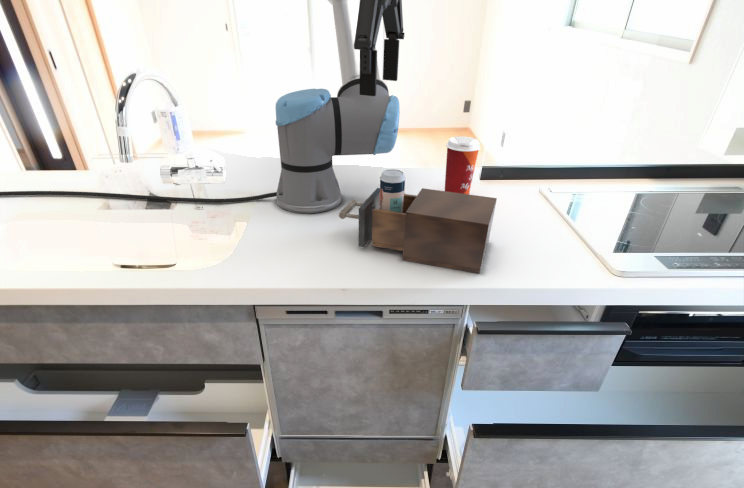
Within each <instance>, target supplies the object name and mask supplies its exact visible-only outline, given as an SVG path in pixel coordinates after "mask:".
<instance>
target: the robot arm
mask: <svg viewBox="0 0 744 488" xmlns="http://www.w3.org/2000/svg"><path fill="white" fill-rule="evenodd" d="M327 1H328V3H330V5H332V13H333V19H334V30H335V37H336V44H337V45H336V46H337V54H338V60H339V71H340V76H341V85H340V87H339V88H338V91H337V94H336V96H333V97H332V95H331V93H330V91H329V89H326V88H307V89H300V90H296V91H292V92H287V93H285V94H284V95H281V96H280V97H279V98H278V99H277V100H276V102H275V125H276V127H277V128H276V129H277V138H278V148H279V157H280V158H279V159H280V168H281V169H280V175H279V178H278V179H279V180H278V185H277V188H276V191H275V192H269V193H263V194H259V195H251V196H243V197H229V198H227V197H226V198H203V197H202V198H201V197H200V198H199V197H177V196H160V195H159V196H158V195H144V194H128V193H114V192H96V191H94V192H93V191H74V190H73V191H72V190H71V191H67V190H18V191H17V190H15V191H13V190H12V191H11V190H10V191H0V197H8V196H9V197H10V196H13V197H14V196H15V197H16V196H72V197H73V196H74V197H75V196H76V197H98V198H113V199H114V198H115V199H133V200H145V201H158V202H159V201H160V202H176V203H177V202H178V203H179V202H181V203H202V204H228V203H229V204H231V203H241V202H242V203H243V202H252V201H260V200H263V199H269V198H275V197H276V202H277V205H278V206H279V208H281V209H283V210H285V211H288V212H292V213H296V214H297V213H298V214H316V213H323V212H327V211H330V210H333V209H335V208H337V207H338V206H339V205H340V204H341V203H342V191H341V188H340V185H339V181H338V178H337V176H336V174H335V171H334V168H333V157H334V156H361V155H362V156H363V155H364V156H365V155H372V156H376V155H380V154H389V153H391V151H393V150H394V148H395V145H396V142H397V138H398V132H399V126H400V125H399V124H400V100H399V98H398V96H396V95H394V94H392V95H390V93H389V88H388V85H387V83H386V82H384V81H391V82H397V81H398V76H399V73H398V72H399V57H400V56H399V54H400V40H404V39H405V32H404V19H403V0H327ZM382 21H383V27H384V32H385V39H383V60H382V64H383V65H382V79H381V77H380V70H379V62H378V49H376V48H377V47H376V46H377V42H378V36H379V32H380V27H381V23H382Z"/></svg>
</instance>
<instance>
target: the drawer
mask: <svg viewBox="0 0 744 488" xmlns="http://www.w3.org/2000/svg"><path fill="white" fill-rule="evenodd" d="M417 195H418V194H417ZM417 195H416V194H409V193H404V205H403V213H400V212H393V211H387V210H380V209H379V206H380V187H377V188H376V189H375V190H374V191H372V193H371V195H369V196H368V197H367V199H366V200H365V201H363V202H358V200H356V199H351V201H350V202H349V203H347V205H346V206H345V207H344V208H343V209H342V210H341V211H339V213H338V217H339V218H340V219H341V220H344V219H346V218H347V219H348V218H350V219H355V220H358V248H366V246H367V245H368V244H369V242H370V241H371V240H372V241H371V246H372V247H377V248H382V249H389V250H393V251H400V252H403V245H404V230H405V215H406V211H407V210H408V208H409V207H410V205H411V204H412V202H413V201H414V199H415V198H416V197H417ZM356 207H358V214H353V213H351V212H352V211H353V210H354V209H355V208H356Z"/></svg>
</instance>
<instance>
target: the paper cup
mask: <svg viewBox="0 0 744 488" xmlns="http://www.w3.org/2000/svg"><path fill="white" fill-rule="evenodd" d="M445 146H446V161H445V162H446V163H445V178H444V179H445V180H444V191H447V192H454V193H462V194H469V195H470V191H471V188H472V187H471V186H472V182H473V177H474V173H475V168H476V164H477V159H478V155H479V151H480V150H481V145H480V141H479V139H478V138H475V137H472V136H471V137H470V136H463V135H461V136H458V135H457V136H452V137H450V138H448V141H447V143H446V145H445Z"/></svg>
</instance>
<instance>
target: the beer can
mask: <svg viewBox="0 0 744 488" xmlns="http://www.w3.org/2000/svg"><path fill="white" fill-rule="evenodd" d="M406 180H407V179H406V176H405V174H404V171H401V170H400V169H394V168H393V169H385V170H383V171H382V173H381V175H380V176H379V188H380V206H379V209H380V210H387V211H393V212H400V213H403V205H404V194H405V186H406Z"/></svg>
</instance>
